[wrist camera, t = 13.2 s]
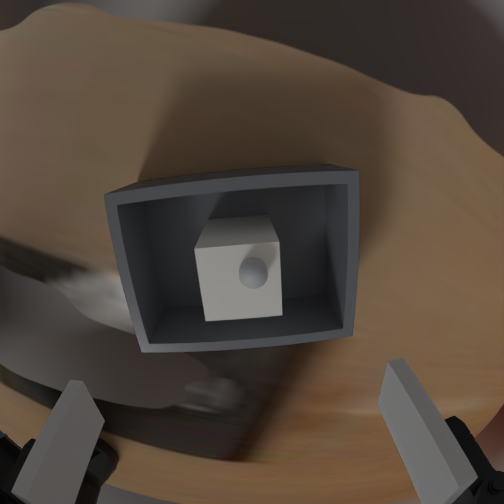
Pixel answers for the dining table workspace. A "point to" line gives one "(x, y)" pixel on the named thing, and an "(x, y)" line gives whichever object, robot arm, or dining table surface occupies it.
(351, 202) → the bin
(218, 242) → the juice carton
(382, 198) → the dining table surface
